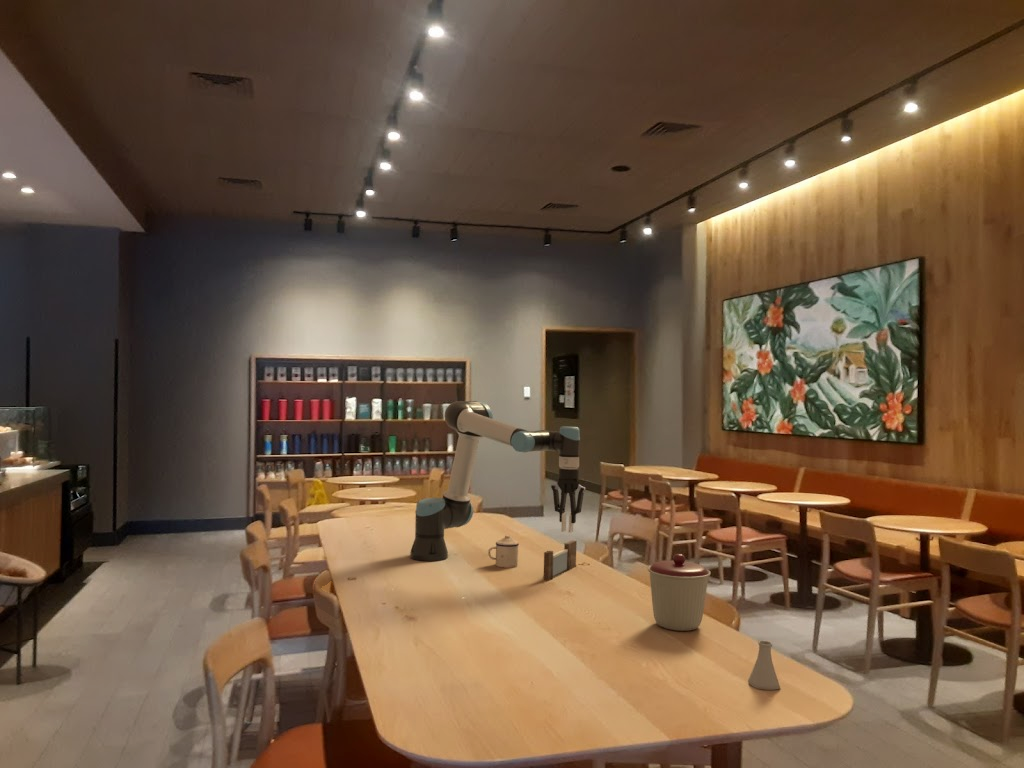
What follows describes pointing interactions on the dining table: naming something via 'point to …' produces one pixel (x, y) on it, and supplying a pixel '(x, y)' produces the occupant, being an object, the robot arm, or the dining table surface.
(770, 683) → the flask
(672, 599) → the canister
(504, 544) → the teacup with lid
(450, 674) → the dining table surface
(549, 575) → the frame
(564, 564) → the gate
